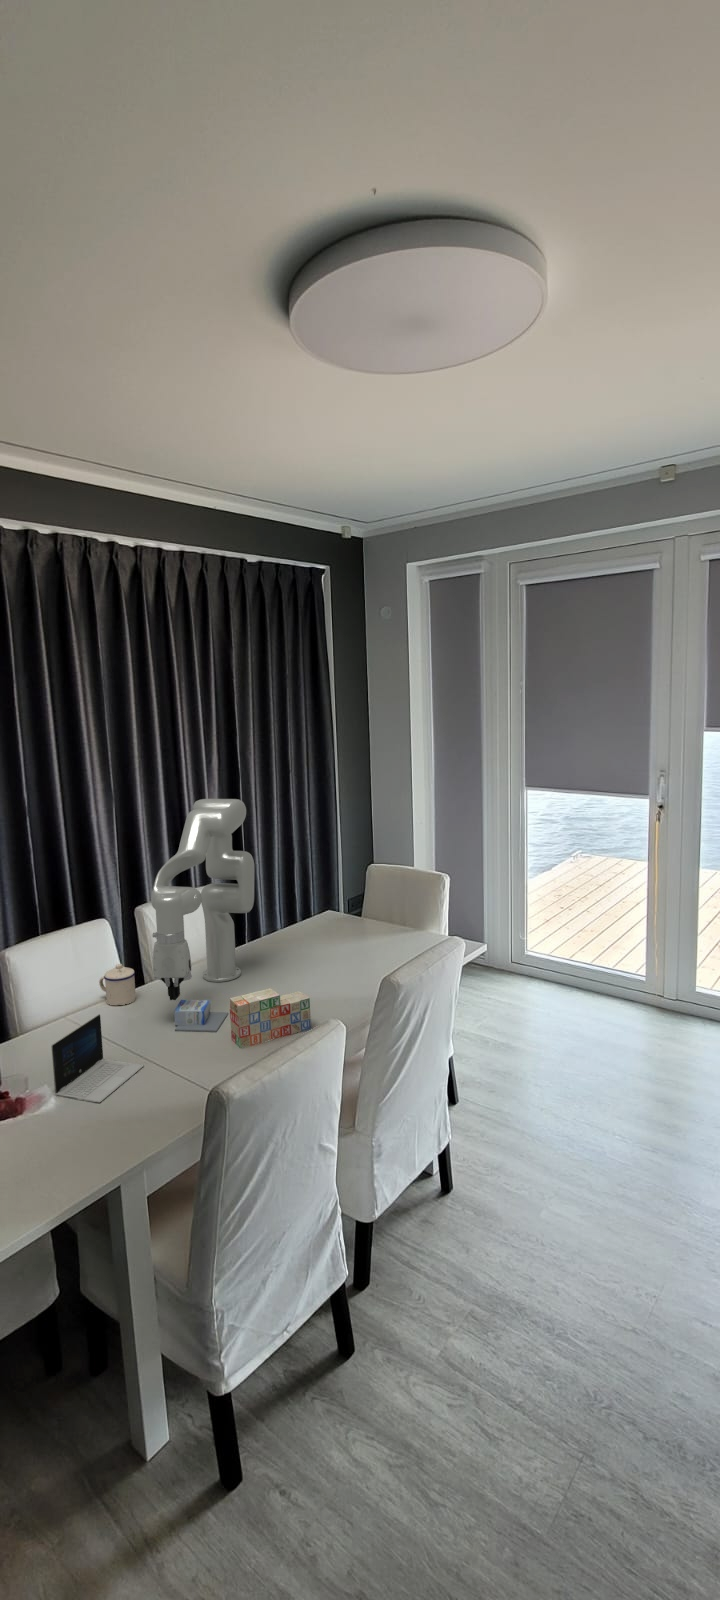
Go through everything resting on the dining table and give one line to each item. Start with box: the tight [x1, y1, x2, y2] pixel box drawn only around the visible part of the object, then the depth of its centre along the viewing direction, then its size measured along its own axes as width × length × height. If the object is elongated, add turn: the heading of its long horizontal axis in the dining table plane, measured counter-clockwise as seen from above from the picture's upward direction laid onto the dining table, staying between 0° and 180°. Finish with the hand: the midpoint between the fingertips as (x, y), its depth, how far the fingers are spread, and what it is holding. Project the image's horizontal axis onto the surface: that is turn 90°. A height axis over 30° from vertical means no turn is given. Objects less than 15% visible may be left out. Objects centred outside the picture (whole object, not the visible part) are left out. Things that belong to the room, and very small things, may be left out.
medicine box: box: [173, 999, 211, 1026], centre depth 214 cm, size 8×4×9 cm
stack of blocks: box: [229, 987, 312, 1049], centre depth 204 cm, size 21×6×12 cm, turn 121°
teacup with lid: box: [98, 963, 137, 1006], centre depth 230 cm, size 12×9×12 cm
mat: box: [174, 1011, 229, 1033], centre depth 214 cm, size 12×12×1 cm
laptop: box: [51, 1013, 144, 1103], centre depth 181 cm, size 18×12×13 cm
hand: (174, 998), depth 213 cm, fingers closed
